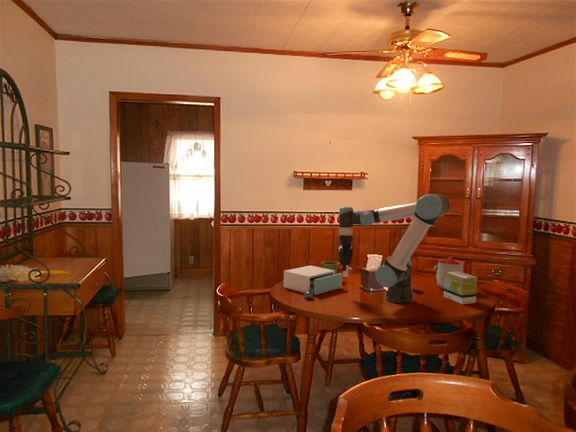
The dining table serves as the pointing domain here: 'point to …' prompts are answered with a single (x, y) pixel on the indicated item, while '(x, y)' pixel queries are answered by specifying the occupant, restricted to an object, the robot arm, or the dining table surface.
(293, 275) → the white drawer box
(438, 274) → the citrus juicer
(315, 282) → the drawer
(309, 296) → the grey knob
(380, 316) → the dining table surface
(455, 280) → the tea box
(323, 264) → the plant pot
